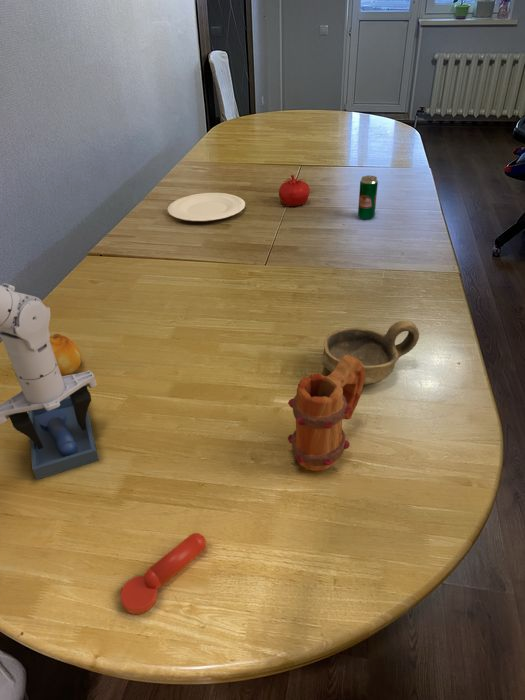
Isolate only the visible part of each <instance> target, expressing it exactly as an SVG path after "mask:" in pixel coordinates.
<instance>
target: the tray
mask: <svg viewBox="0 0 525 700" xmlns="http://www.w3.org/2000/svg"><path fill="white" fill-rule="evenodd" d="M55 409H59V410H62V411H64V413H65V415H66V418H67V420H66V423H65V424H66V426H67V428H68V430H69V432H70V434H71V435H72V437H73V439H74V441H75V443H76V445H77V449H76V452H75V453H74V454H73V455H70V456H64V455H62V454H61V453H60V451H59V449H58V447H57V445H56V443H55V441H54V439H53V437H52V435H51V433H50V431H45V430H43V429H42V428H41V426H40V423H39V418H40V417H41V415H42V414H44V413H45V412H47V410H46V409H45V408H42V409H37V410H31V411H27V413H28V415H29V417H30V419H31V421H32V424H33V426H34V429H35V431H36V433H37V435H38V437H39V439H40V441H41V443H42V445H43V448H41V449H38V447H37V446H36V444H35V443H34V442H33V441H32V440H31V439H30V438H29V442H30V455H31V470H32V472H33V475H34V476H35V479H36V480H41V479H44V478H47V477H50V476H53V475H57V474H59V473H63V472H66V471H69V470H72V469H76V468H79V467H82V466H85V465H88V464H92V463H95V462H98V461H99V459H100V458H99V454H98V450H97V445H96V441H95V436H94V431H93V427H92V423H91V418H90V414H89V408H88V409H87V414H86V429H85V430H83V431H82V429H81V427H80V426H79V424H78V421H77V419H76V415H75V411H74V407H73V404H72V401H71V398H70V396H68V397H66V398H65V399H63V400H62V401H60V406H59V407H57V408H55ZM52 410H53V409H52Z"/></svg>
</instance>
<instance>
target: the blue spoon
mask: <svg viewBox="0 0 525 700" xmlns="http://www.w3.org/2000/svg"><path fill="white" fill-rule="evenodd" d="M66 420H67V418H66V415H65V413H64V411H62V410H59V409H53V410H49V411H47V412H45V413H44V414H42V415H41V417H40V418H39V423H40V426H41V428H42V429H43V430H45V431H50V433H51V435H52V437H53V439H54V441H55V443H56V445H57V447H58V449H59V451H60V453H61V454H62V455H64V456H70V455H73V454H74V453H75V452H76V449H77V445H76V443H75V441H74V439H73V437H72V435H71V434H70V432H69V430H68V428H67V426H66V424H65V423H66Z"/></svg>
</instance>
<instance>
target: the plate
mask: <svg viewBox="0 0 525 700" xmlns="http://www.w3.org/2000/svg"><path fill="white" fill-rule="evenodd" d="M245 208H246V201H245V200H244V199H242V198H241V197H240V196H237V195H234V194H231V193H225V192H201V193H196V194H189V195H186V196H182V197H180V198H178V199H175V200H174V201H172V202H171V203H170V204H168V206H167V213H168V214H169V215H170V216H171V217H173V218H174V219H177V220H181V221H186V222H194V223H195V222H198V223H200V222H204V223H205V222H215V221H219V220H224V219H228V218H231V217H234V216H236V215H238V214H240V213H241V212H242V211H244V210H245Z"/></svg>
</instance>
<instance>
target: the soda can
mask: <svg viewBox="0 0 525 700" xmlns="http://www.w3.org/2000/svg"><path fill="white" fill-rule="evenodd" d="M378 184H379V181H378V177H377V176H375V175H371V174H370V175H363V176H361V179H360V181H359V194H358V207H357V217H358V218H359V219H361V220H365V221H369V220H372V219H374V217H375V216H376V215H375V214H376V206H377V194H378V186H379V185H378Z"/></svg>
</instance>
